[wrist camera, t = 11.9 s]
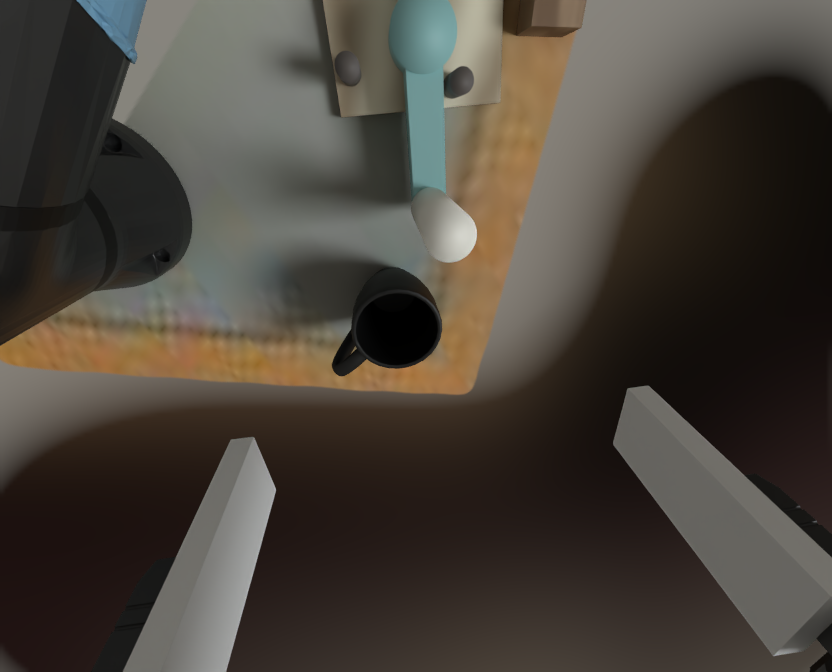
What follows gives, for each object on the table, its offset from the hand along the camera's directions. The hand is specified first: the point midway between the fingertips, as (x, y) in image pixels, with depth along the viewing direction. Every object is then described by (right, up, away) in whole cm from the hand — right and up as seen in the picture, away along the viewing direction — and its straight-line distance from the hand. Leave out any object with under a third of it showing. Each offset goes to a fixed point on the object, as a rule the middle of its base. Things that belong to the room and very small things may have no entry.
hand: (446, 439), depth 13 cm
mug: (-5, +8, +28) cm, 30 cm away
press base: (-1, +29, +17) cm, 33 cm away
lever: (-1, +24, +17) cm, 29 cm away
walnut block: (+8, +30, +15) cm, 34 cm away
